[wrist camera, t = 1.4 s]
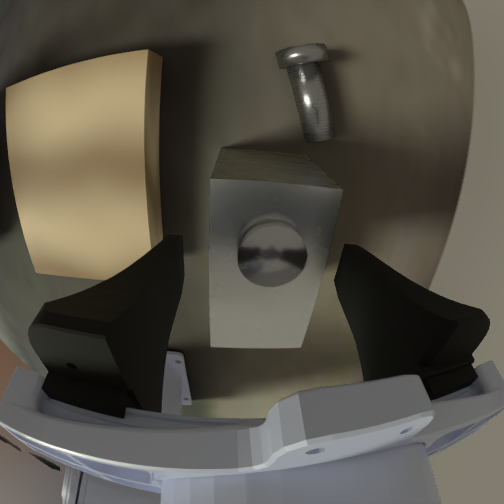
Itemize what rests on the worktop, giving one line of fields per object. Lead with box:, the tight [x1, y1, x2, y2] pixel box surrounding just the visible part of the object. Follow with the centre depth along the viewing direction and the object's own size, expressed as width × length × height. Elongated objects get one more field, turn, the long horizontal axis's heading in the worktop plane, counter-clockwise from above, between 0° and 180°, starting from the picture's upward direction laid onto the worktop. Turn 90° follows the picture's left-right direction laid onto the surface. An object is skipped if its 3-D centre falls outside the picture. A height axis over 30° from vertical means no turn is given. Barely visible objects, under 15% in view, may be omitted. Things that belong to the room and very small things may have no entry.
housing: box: [209, 148, 343, 348], centre depth 13 cm, size 8×4×7 cm, turn 175°
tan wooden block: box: [6, 49, 163, 280], centre depth 12 cm, size 12×9×2 cm
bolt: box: [275, 43, 336, 142], centre depth 11 cm, size 5×2×2 cm, turn 15°
